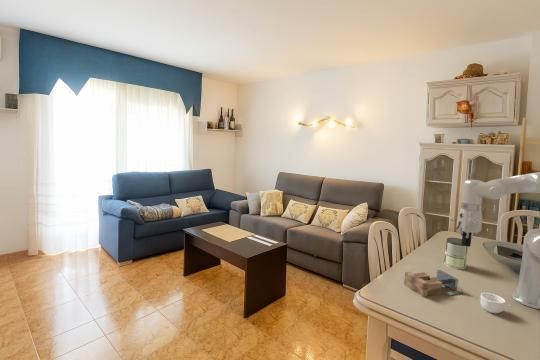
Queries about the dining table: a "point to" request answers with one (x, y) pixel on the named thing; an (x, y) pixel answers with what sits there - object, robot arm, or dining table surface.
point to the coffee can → (455, 254)
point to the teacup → (493, 303)
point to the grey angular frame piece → (446, 280)
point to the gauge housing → (425, 284)
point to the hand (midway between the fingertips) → (465, 245)
